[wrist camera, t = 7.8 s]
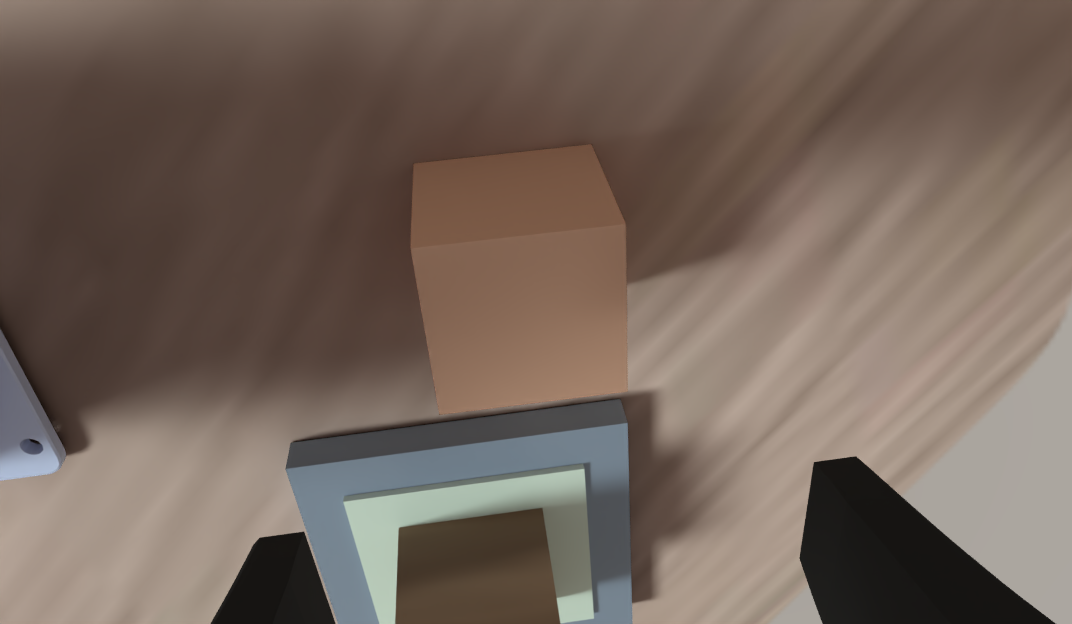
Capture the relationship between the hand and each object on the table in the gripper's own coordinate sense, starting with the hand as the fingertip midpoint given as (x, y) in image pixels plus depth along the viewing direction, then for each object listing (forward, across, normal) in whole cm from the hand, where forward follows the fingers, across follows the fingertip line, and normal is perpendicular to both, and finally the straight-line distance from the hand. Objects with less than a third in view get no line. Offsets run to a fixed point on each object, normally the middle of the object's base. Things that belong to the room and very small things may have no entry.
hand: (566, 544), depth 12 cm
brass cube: (+8, +2, +10) cm, 13 cm away
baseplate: (+9, +2, +10) cm, 14 cm away
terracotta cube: (+10, 0, 0) cm, 10 cm away
